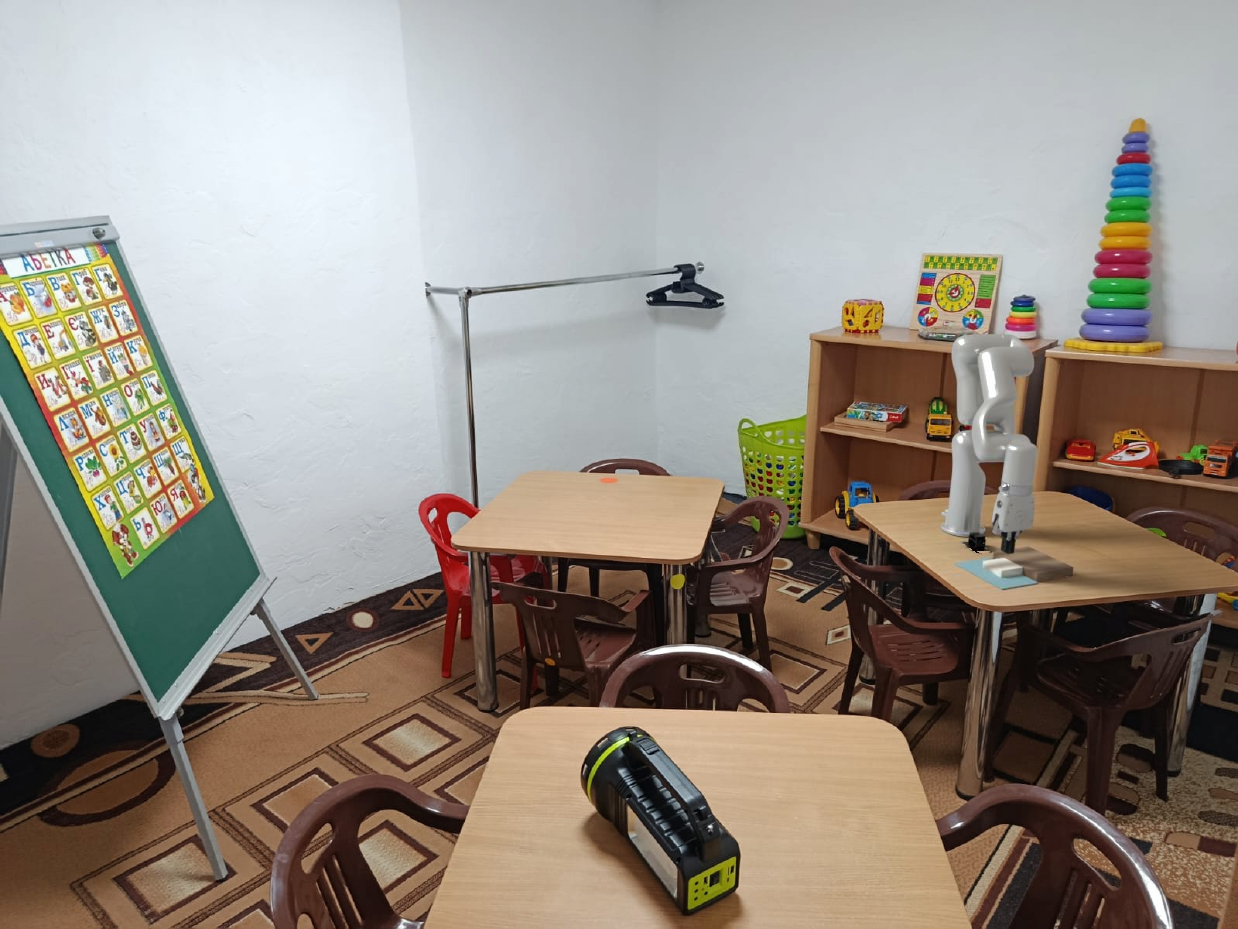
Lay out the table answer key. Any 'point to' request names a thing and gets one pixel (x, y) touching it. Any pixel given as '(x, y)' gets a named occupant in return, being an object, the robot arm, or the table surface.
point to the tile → (1002, 567)
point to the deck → (1036, 564)
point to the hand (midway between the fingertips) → (1007, 551)
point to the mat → (993, 579)
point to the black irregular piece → (976, 542)
